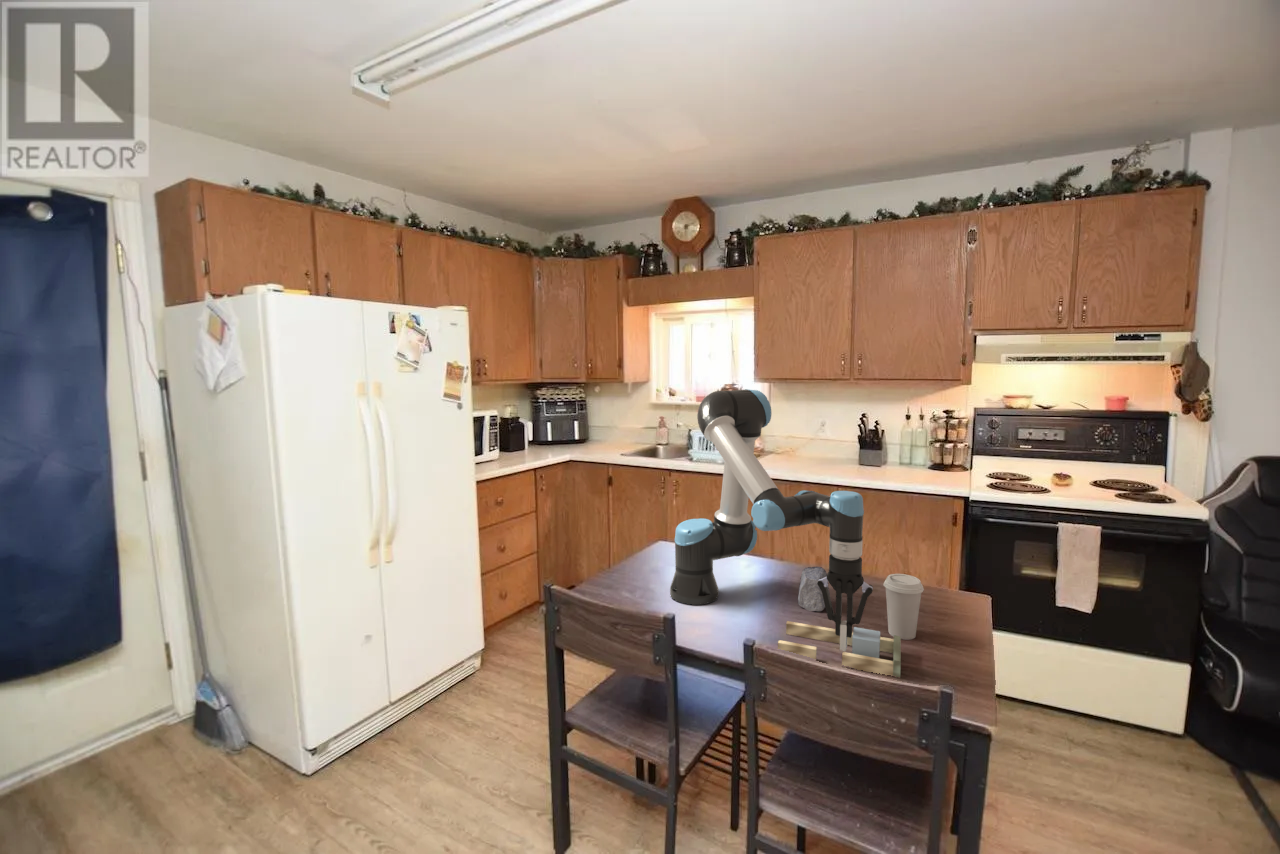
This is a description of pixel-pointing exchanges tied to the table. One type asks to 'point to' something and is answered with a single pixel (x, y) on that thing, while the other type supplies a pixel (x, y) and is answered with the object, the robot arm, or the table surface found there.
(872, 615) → the table surface
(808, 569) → the stone
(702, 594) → the robot arm
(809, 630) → the channel
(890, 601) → the coffee cup
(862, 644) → the block
